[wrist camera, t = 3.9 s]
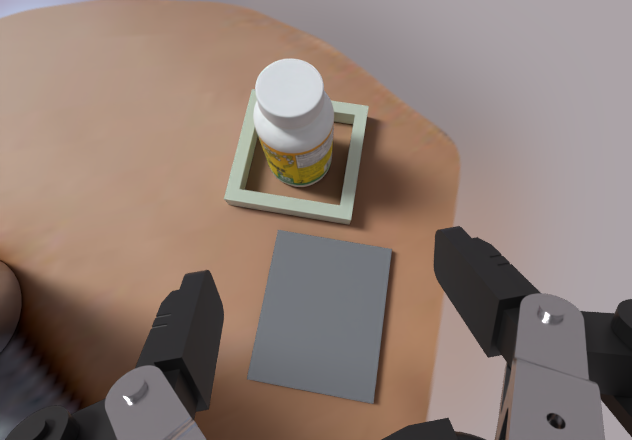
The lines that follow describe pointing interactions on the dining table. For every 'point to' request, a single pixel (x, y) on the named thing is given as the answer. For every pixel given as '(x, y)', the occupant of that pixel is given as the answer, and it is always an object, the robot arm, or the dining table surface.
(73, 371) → the dining table surface
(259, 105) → the supplement bottle
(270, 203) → the pale green square frame
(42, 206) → the dining table surface
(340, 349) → the mat
